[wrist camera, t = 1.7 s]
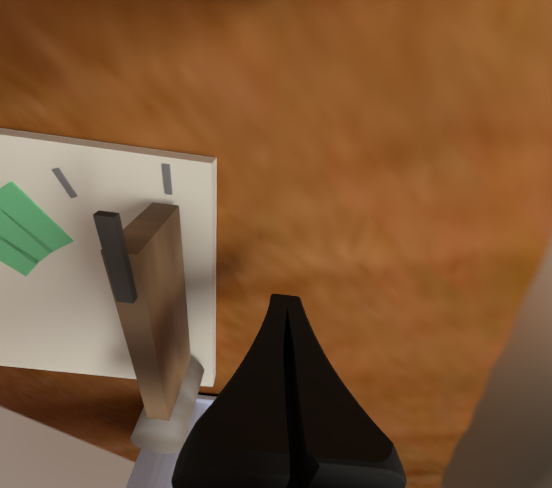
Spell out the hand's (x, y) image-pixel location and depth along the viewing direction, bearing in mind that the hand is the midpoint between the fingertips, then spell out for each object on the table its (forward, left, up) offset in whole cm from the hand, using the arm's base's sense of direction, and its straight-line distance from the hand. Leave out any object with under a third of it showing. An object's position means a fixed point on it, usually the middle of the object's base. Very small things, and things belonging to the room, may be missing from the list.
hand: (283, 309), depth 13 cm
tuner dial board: (-3, +13, -3) cm, 14 cm away
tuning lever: (-3, +6, -2) cm, 7 cm away
